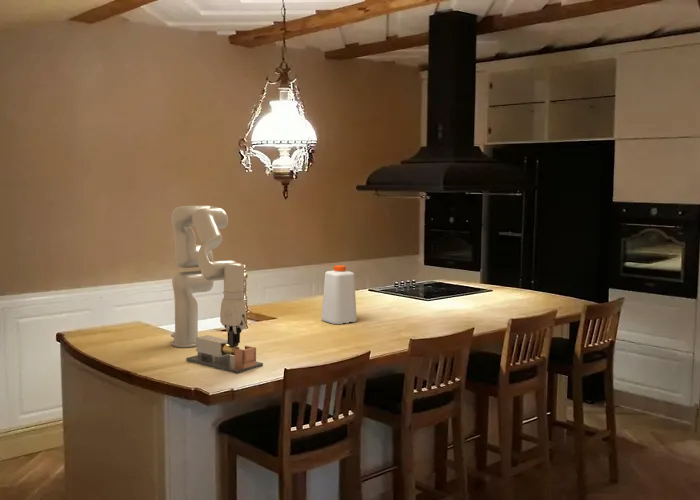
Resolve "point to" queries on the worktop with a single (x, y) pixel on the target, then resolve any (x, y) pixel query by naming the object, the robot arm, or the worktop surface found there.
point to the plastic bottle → (339, 296)
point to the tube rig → (223, 356)
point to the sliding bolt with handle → (230, 345)
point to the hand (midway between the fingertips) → (233, 342)
